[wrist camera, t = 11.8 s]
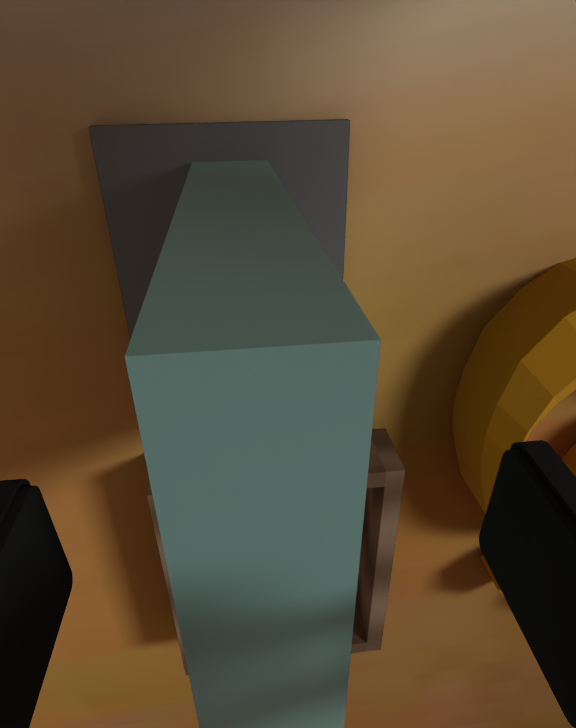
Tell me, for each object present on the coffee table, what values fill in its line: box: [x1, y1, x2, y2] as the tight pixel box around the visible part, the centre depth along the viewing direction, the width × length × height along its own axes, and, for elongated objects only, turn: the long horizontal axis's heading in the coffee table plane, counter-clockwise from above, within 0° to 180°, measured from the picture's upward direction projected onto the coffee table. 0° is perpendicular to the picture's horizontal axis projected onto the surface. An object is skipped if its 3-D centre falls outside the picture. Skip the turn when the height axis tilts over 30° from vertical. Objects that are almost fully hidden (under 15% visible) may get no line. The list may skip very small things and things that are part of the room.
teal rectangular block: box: [125, 160, 381, 728], centre depth 15 cm, size 11×3×16 cm, turn 1°
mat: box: [89, 119, 350, 339], centre depth 23 cm, size 14×10×1 cm
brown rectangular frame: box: [147, 429, 405, 675], centre depth 30 cm, size 16×13×4 cm
